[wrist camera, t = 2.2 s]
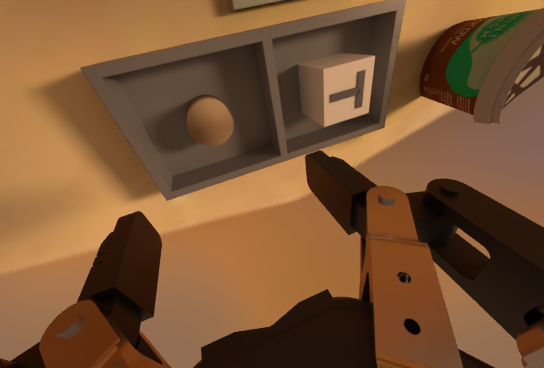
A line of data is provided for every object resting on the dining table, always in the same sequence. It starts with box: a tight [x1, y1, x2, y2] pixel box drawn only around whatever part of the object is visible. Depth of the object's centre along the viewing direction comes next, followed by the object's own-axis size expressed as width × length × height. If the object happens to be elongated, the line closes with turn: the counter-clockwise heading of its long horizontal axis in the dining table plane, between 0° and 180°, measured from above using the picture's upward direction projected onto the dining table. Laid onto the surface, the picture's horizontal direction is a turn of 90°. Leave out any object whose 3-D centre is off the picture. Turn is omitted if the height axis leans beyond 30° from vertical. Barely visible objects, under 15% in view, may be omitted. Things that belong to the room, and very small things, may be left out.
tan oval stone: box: [187, 94, 234, 146], centre depth 20 cm, size 4×4×3 cm
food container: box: [420, 8, 544, 124], centre depth 22 cm, size 12×6×10 cm, turn 140°
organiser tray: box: [81, 0, 406, 200], centre depth 21 cm, size 12×26×4 cm, turn 103°
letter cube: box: [298, 53, 375, 127], centre depth 21 cm, size 5×5×5 cm
